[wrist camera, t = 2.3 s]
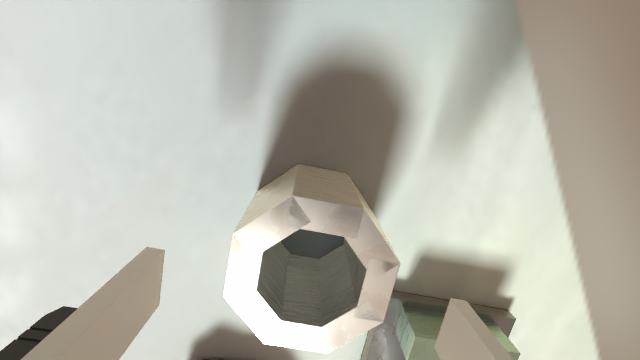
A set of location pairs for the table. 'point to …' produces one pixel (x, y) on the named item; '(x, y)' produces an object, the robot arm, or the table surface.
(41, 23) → the table surface
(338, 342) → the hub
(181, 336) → the table surface
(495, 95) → the table surface
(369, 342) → the stand
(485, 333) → the robot arm
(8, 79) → the table surface
